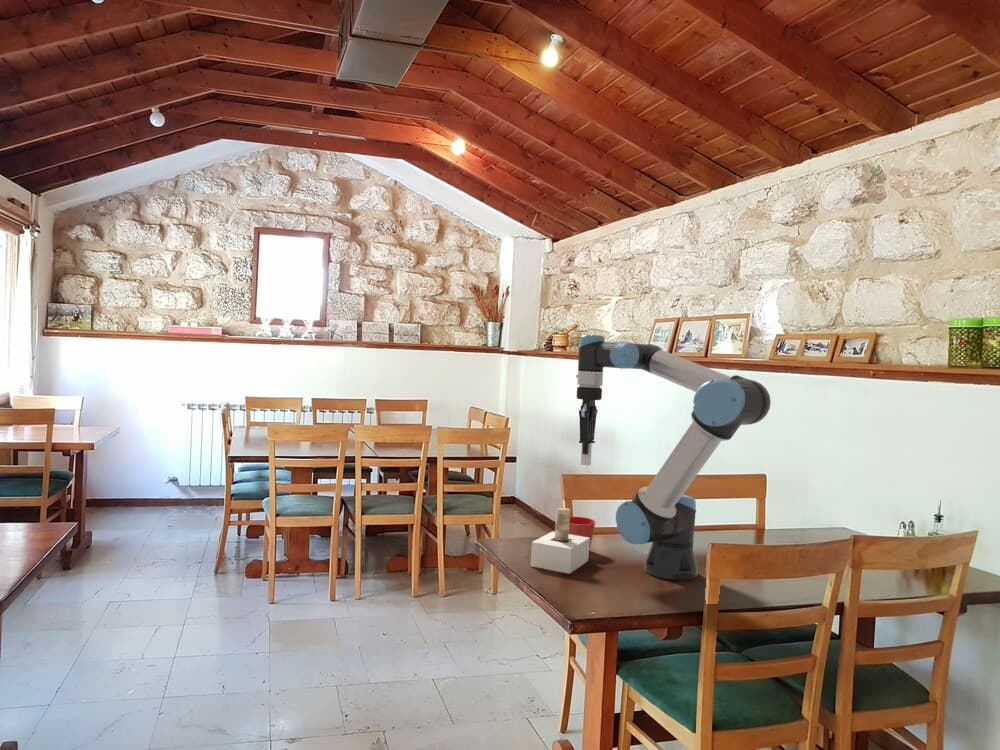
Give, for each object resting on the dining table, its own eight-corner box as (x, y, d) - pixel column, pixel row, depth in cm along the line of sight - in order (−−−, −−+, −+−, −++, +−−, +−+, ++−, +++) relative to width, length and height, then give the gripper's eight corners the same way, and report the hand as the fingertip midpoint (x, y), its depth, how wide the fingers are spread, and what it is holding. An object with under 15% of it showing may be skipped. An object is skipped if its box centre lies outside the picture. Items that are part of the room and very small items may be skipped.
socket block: (588, 560, 224) (589, 537, 224) (569, 573, 210) (571, 548, 209) (551, 554, 229) (552, 531, 229) (530, 566, 215) (531, 542, 215)
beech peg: (569, 556, 220) (572, 509, 220) (564, 559, 217) (567, 511, 216) (556, 553, 222) (559, 507, 222) (551, 557, 218) (554, 509, 218)
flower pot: (555, 552, 232) (557, 521, 231) (564, 544, 242) (565, 514, 242) (589, 557, 228) (591, 525, 228) (596, 548, 239) (598, 518, 238)
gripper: (583, 385, 232) (579, 461, 232) (571, 386, 220) (567, 466, 220) (606, 386, 229) (603, 463, 230) (596, 387, 217) (592, 468, 217)
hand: (585, 464), depth 225 cm, fingers closed
